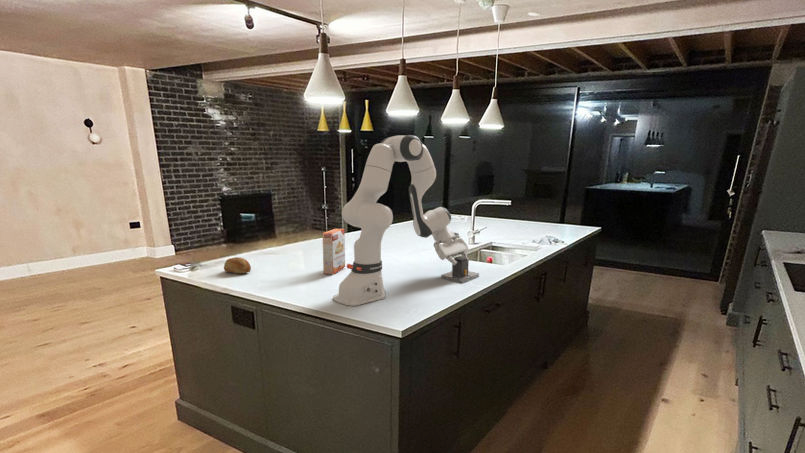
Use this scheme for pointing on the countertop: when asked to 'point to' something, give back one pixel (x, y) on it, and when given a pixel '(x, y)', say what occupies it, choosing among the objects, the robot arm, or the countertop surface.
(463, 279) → the hub plate
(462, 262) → the dark grey block
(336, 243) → the cracker box
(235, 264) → the bread roll
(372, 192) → the robot arm
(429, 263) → the countertop surface
